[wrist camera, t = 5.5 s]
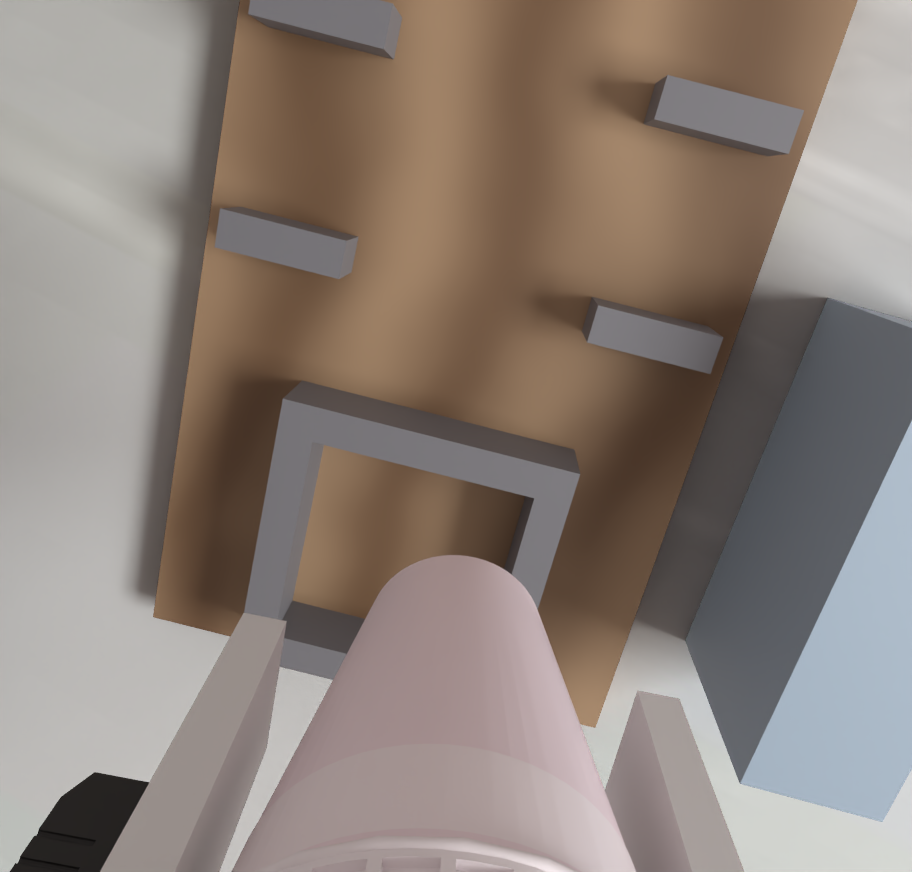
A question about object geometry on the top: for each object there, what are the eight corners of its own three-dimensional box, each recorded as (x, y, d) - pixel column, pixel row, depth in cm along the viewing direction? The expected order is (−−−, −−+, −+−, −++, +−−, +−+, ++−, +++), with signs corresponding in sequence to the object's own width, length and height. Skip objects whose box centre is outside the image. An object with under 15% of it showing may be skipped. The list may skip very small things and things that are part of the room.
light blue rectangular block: (793, 668, 32) (882, 822, 24) (684, 638, 32) (740, 783, 24) (951, 332, 27) (1122, 390, 20) (826, 297, 27) (949, 341, 20)
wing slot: (235, 242, 27) (214, 247, 25) (274, -16, 24) (254, -33, 22) (696, 360, 27) (710, 374, 25) (781, 116, 24) (804, 110, 22)
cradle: (257, 619, 31) (235, 655, 29) (302, 380, 28) (282, 398, 26) (502, 681, 31) (502, 722, 29) (574, 449, 28) (580, 474, 26)
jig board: (165, 601, 32) (153, 616, 31) (282, -200, 24) (270, -219, 23) (592, 708, 33) (595, 727, 31) (861, -48, 24) (878, -59, 23)
